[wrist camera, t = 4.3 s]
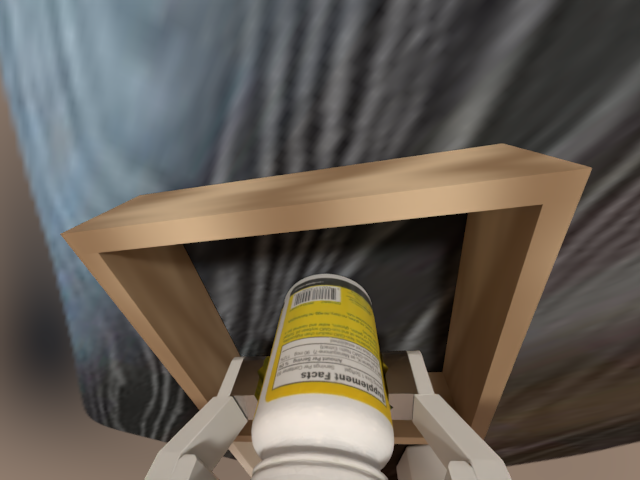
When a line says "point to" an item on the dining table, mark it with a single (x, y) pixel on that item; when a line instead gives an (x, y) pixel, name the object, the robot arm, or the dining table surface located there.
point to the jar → (420, 464)
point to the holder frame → (343, 210)
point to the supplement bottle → (324, 388)
